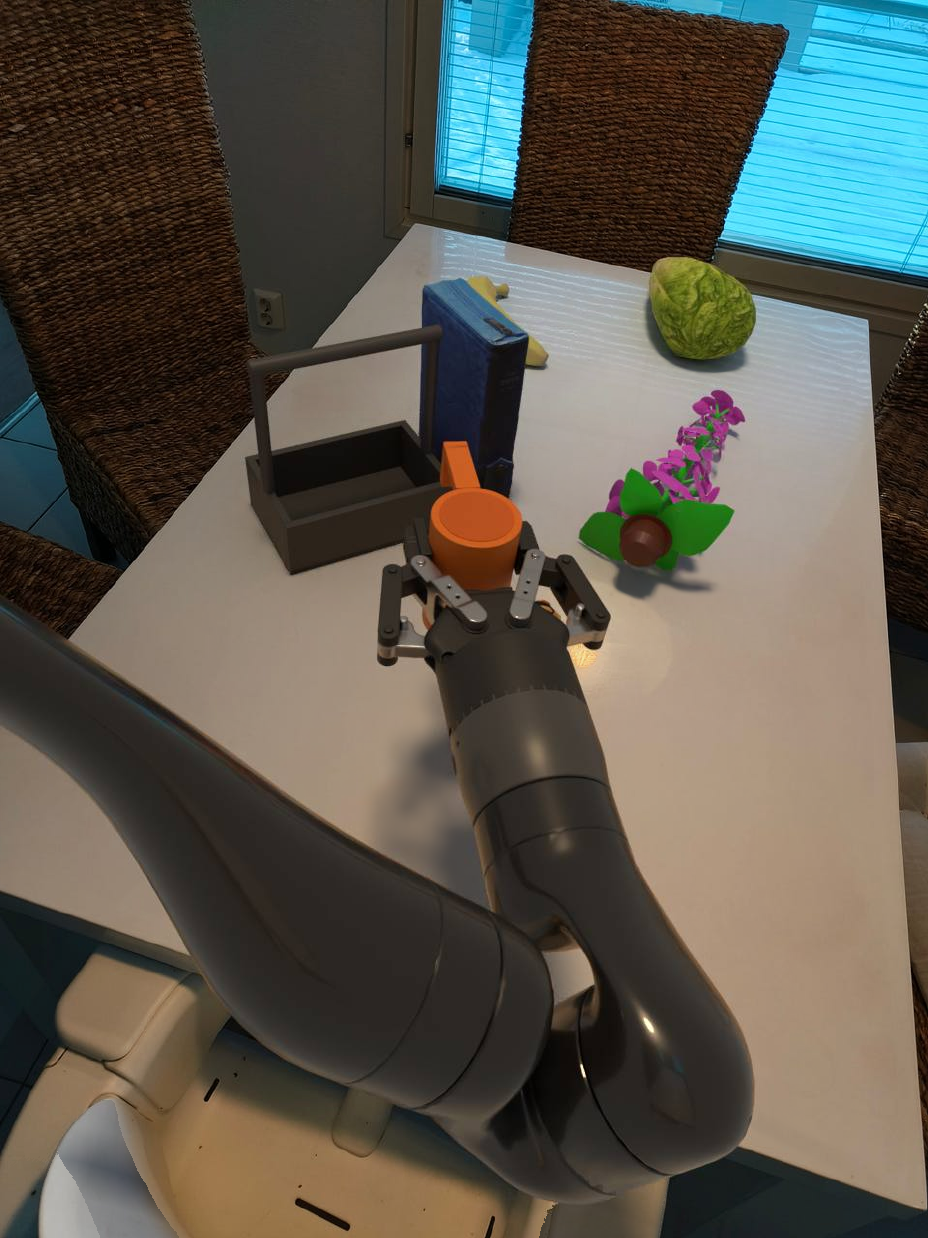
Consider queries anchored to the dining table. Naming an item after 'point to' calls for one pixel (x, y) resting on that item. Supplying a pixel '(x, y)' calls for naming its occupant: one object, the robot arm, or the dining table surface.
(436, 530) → the measuring cup
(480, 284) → the banana
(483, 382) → the book
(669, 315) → the lettuce
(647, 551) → the potted plant
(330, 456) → the basket
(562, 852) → the robot arm
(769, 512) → the dining table surface
